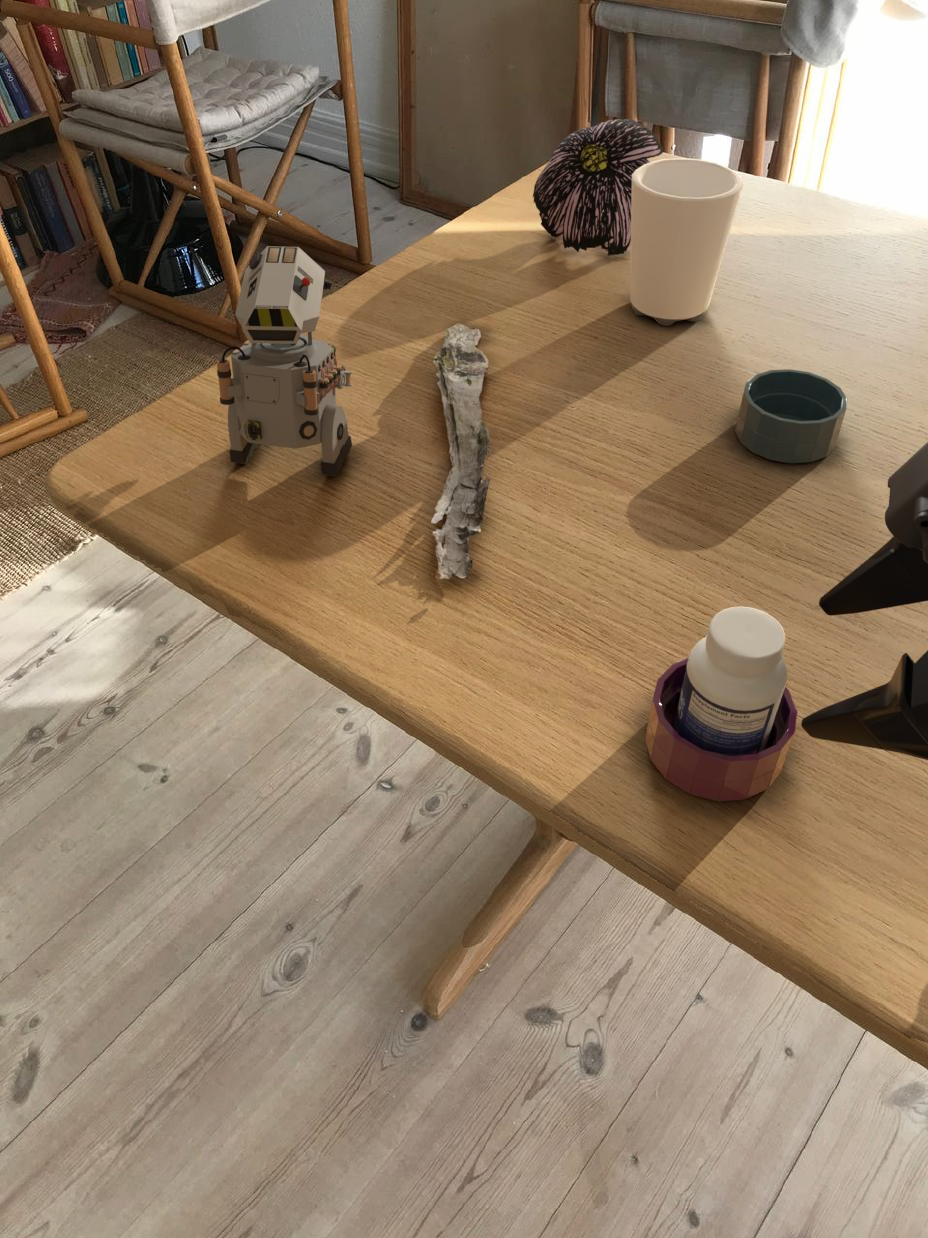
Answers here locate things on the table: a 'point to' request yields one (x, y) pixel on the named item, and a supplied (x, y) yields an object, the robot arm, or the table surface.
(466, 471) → the driftwood
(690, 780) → the plum bowl
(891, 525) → the robot arm
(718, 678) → the pill bottle
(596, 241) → the decorative flower
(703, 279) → the cup
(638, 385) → the table surface
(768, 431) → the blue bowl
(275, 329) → the figurine
